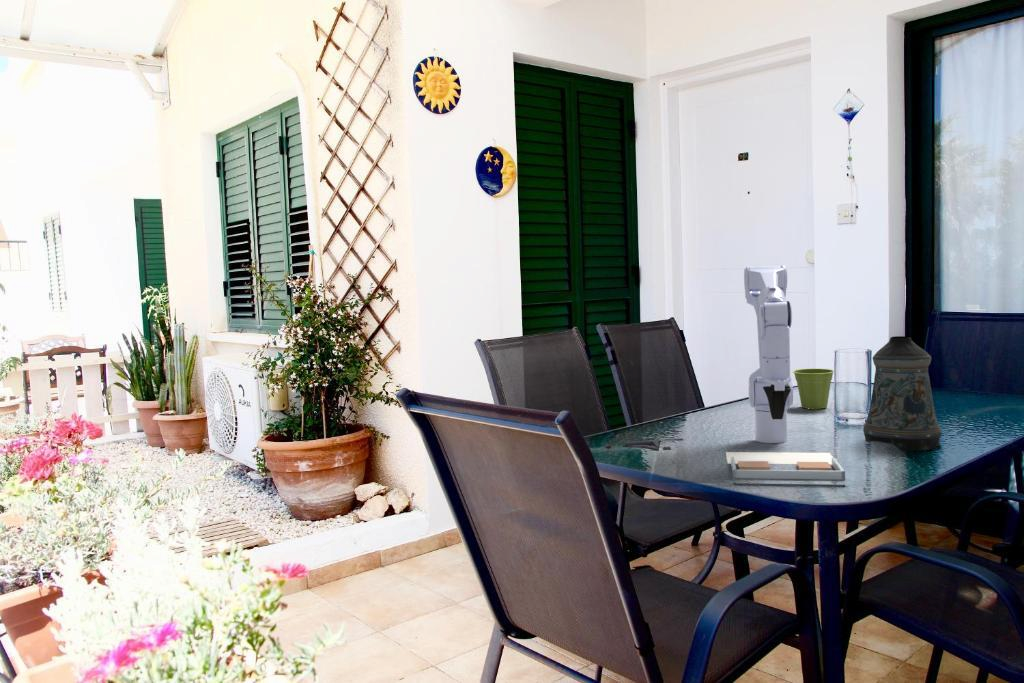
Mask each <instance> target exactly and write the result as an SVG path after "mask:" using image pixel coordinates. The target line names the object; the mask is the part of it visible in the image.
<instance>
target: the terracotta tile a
mask: <svg viewBox="0 0 1024 683" xmlns="http://www.w3.org/2000/svg"><path fill="white" fill-rule="evenodd" d="M737 467H738V470H771V467H770V464H769V463H768V461H738V464H737Z"/></svg>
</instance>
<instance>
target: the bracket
mask: <svg viewBox="0 0 1024 683" xmlns="http://www.w3.org/2000/svg"><path fill="white" fill-rule="evenodd" d="M661 441H662V439H653V440H639V441H625V443H624V446H626V448H639V447H641V449H649V448H650V450H656V451H658V452H659V450H660V445H661ZM664 441H677V442H678V441H679V442H680V441H682V442H683V441H684V438H668V439H664ZM648 445H649V446H648ZM652 445H653V446H652ZM662 448H663V450H665V451H671V450H672V448H671V446H663V447H662Z"/></svg>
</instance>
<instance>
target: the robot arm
mask: <svg viewBox="0 0 1024 683" xmlns="http://www.w3.org/2000/svg"><path fill="white" fill-rule="evenodd" d="M743 279H744V281H743V283H744V284H743V285H744V293H745V294H744V296H745V299H746V304H749V305H751V306H753V309H754V311H755V314H756V323H757V324H756V325H757V343H758V346H757V347H758V359H759V360H758V362H759V363H758V364H759V368H758V369H756V370H755V371H754V372H752V373H751V374H750V376H749V377H748V404H749V406H750V407H751V408H754V417H755V418H754V420H755V421H754V422H755V425H754V427H755V438H752V441H755V442H756V441H757V442H758V443H766V444H780V443H785V442H788V417H787V416H788V414H787V412H788V410H789V408H791V407H792V405H793V403H794V388H793V383H792V377H791V356H790V355H791V348H790V347H791V344H790V342H791V341H790V340H791V339H790V336H791V335H790V328H791V327H792V323H793V309H792V305H791V301H790V300H786V295H787V289H788V269H787V267H786V266H785V265H784V264H781V265H768V266H750V267H749V266H746V267H745V268H744V269H743Z"/></svg>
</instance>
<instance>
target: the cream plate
mask: <svg viewBox="0 0 1024 683" xmlns="http://www.w3.org/2000/svg"><path fill="white" fill-rule="evenodd" d="M725 455H726V457H725V458H726V462H727V465H731V457H734V460H735V465H738V461H768V463H769V465H797V462H828V463H829V465H830V466H832V458H834V457H833V456H832V454H831V452H768V451H767V452H764V451H763V452H761V451H759V452H758V451H757V452H755V451H754V452H752V451H751V452H750V451H749V452H748V451H746V452H745V451H743V452H742V451H739V452H738V451H735V452H734V451H729V452H728V451H726V452H725Z"/></svg>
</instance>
